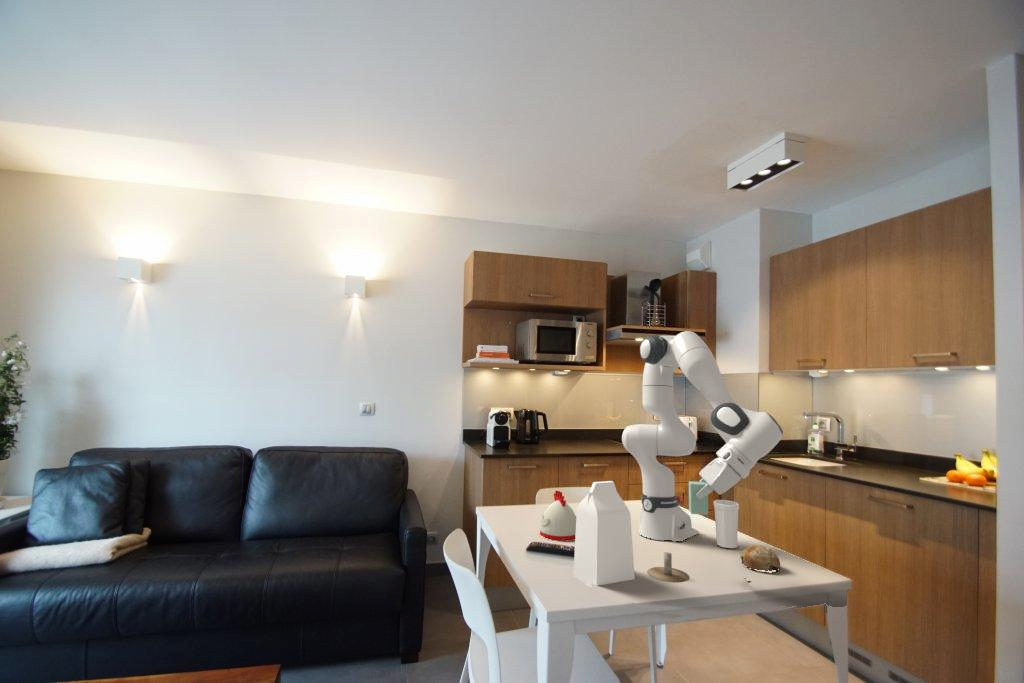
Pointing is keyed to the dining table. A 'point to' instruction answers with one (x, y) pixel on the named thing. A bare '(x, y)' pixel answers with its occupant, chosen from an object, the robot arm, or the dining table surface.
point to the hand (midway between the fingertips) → (695, 495)
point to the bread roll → (760, 558)
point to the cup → (726, 523)
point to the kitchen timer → (558, 520)
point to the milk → (603, 537)
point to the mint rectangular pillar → (697, 499)
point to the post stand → (668, 571)
